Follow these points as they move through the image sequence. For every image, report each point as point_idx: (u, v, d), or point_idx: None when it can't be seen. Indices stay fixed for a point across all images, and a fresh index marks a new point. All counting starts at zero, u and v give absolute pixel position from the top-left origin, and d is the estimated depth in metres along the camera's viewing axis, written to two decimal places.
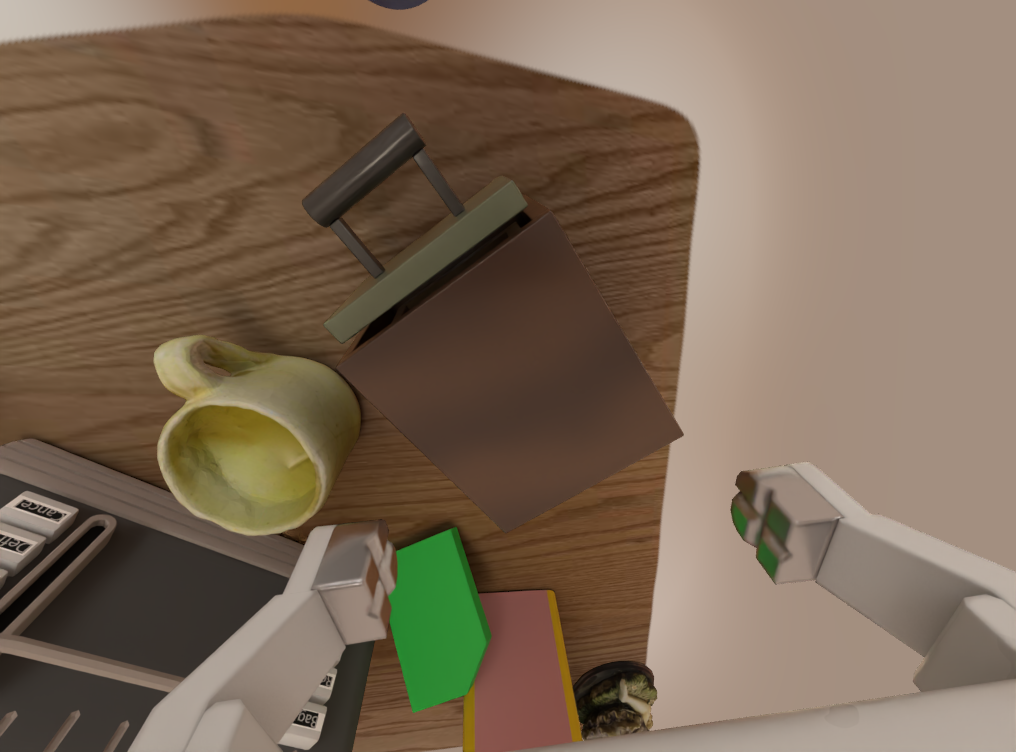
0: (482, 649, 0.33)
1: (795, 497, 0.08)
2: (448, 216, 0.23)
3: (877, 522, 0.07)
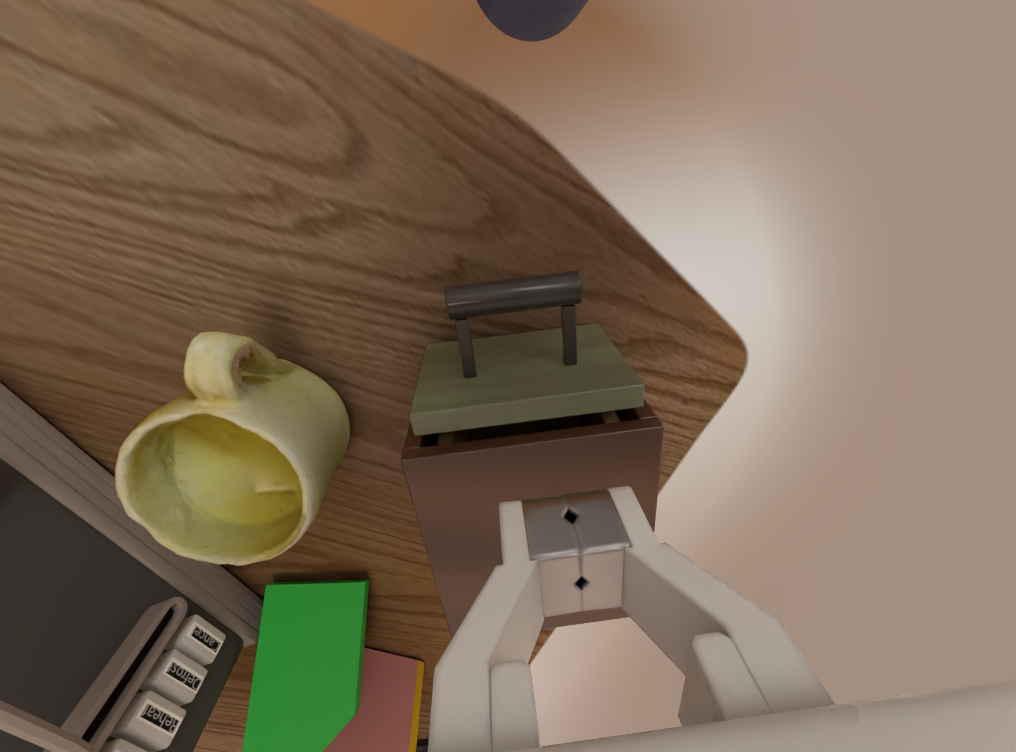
0: (347, 721, 0.31)
1: (595, 524, 0.08)
2: (540, 338, 0.24)
3: (659, 552, 0.07)
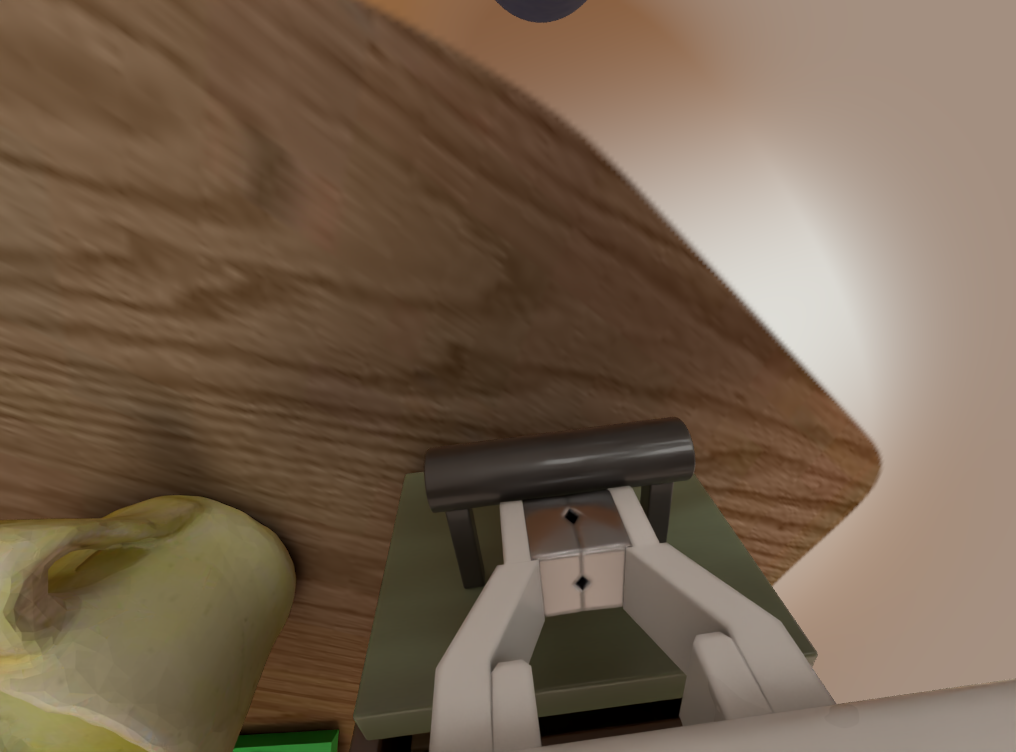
0: None
1: (596, 524, 0.08)
2: None
3: (660, 552, 0.07)
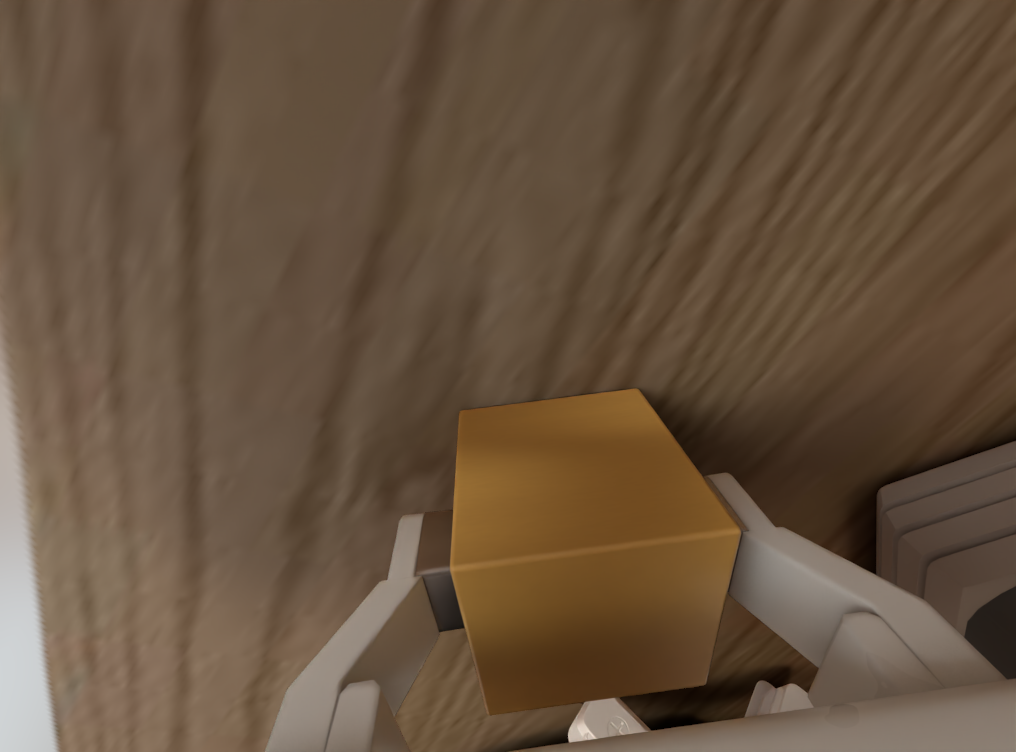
0: None
1: None
2: None
3: (779, 536, 0.07)
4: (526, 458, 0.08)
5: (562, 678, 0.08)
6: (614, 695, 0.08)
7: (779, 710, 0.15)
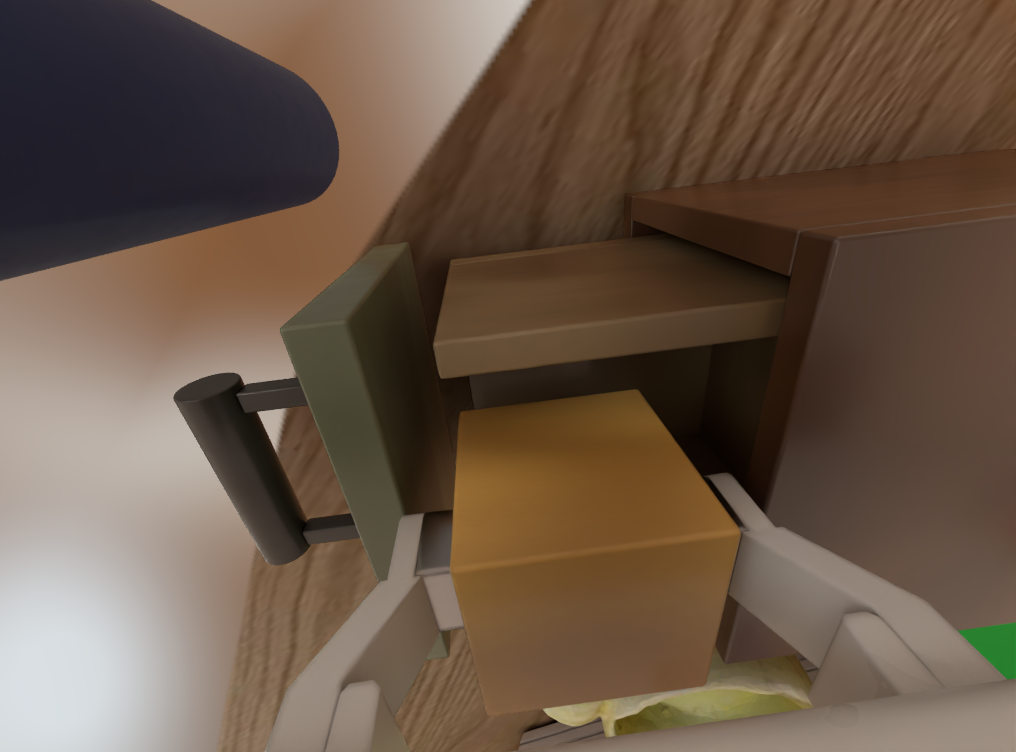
0: None
1: None
2: None
3: (779, 535, 0.07)
4: (525, 459, 0.08)
5: (562, 680, 0.08)
6: (614, 696, 0.08)
7: None
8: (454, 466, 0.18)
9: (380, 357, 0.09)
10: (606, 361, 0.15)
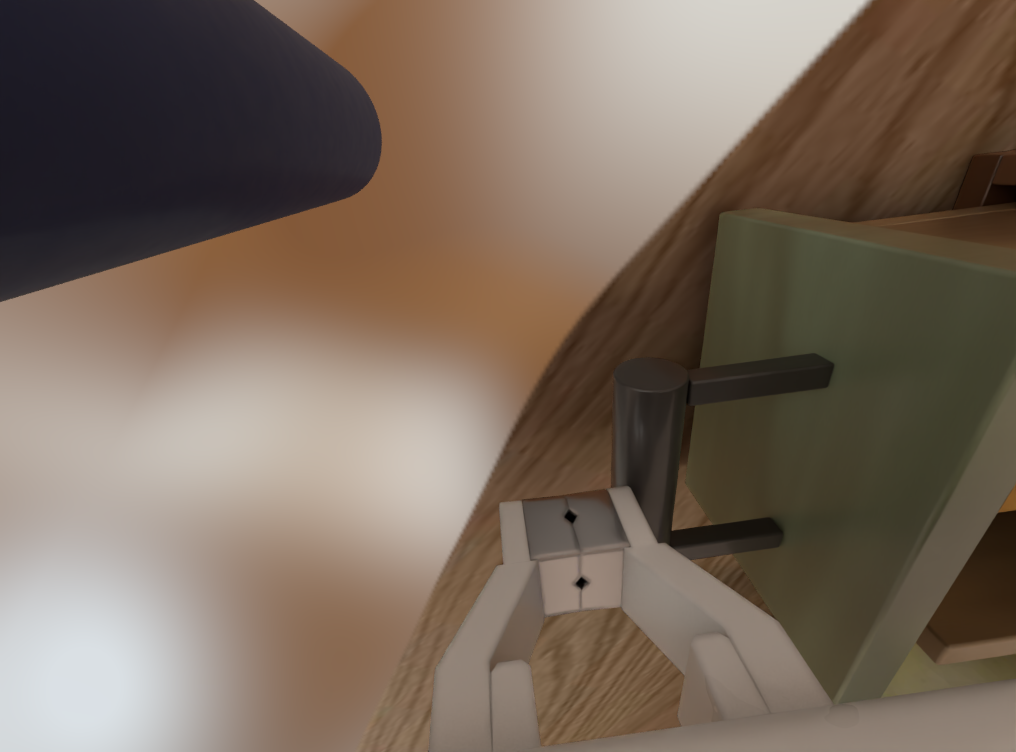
0: None
1: (595, 524, 0.08)
2: (724, 344, 0.12)
3: (658, 552, 0.07)
4: None
5: None
6: None
7: None
8: None
9: None
10: None
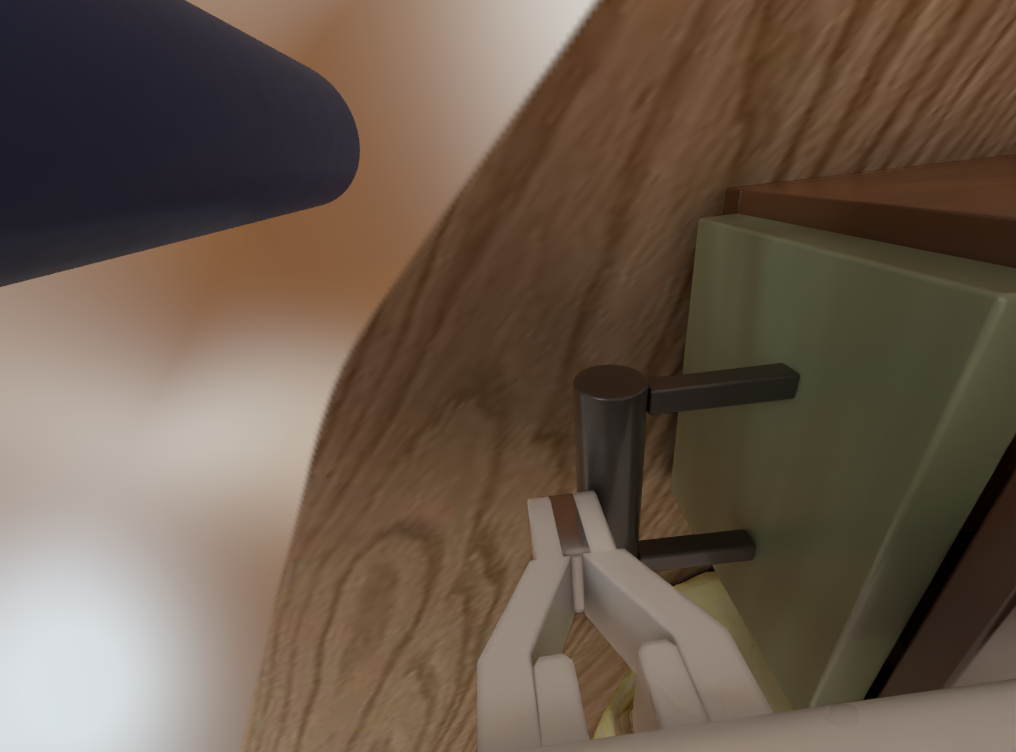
0: None
1: (556, 529, 0.08)
2: (703, 351, 0.12)
3: (616, 558, 0.07)
4: None
5: None
6: None
7: None
8: None
9: None
10: None
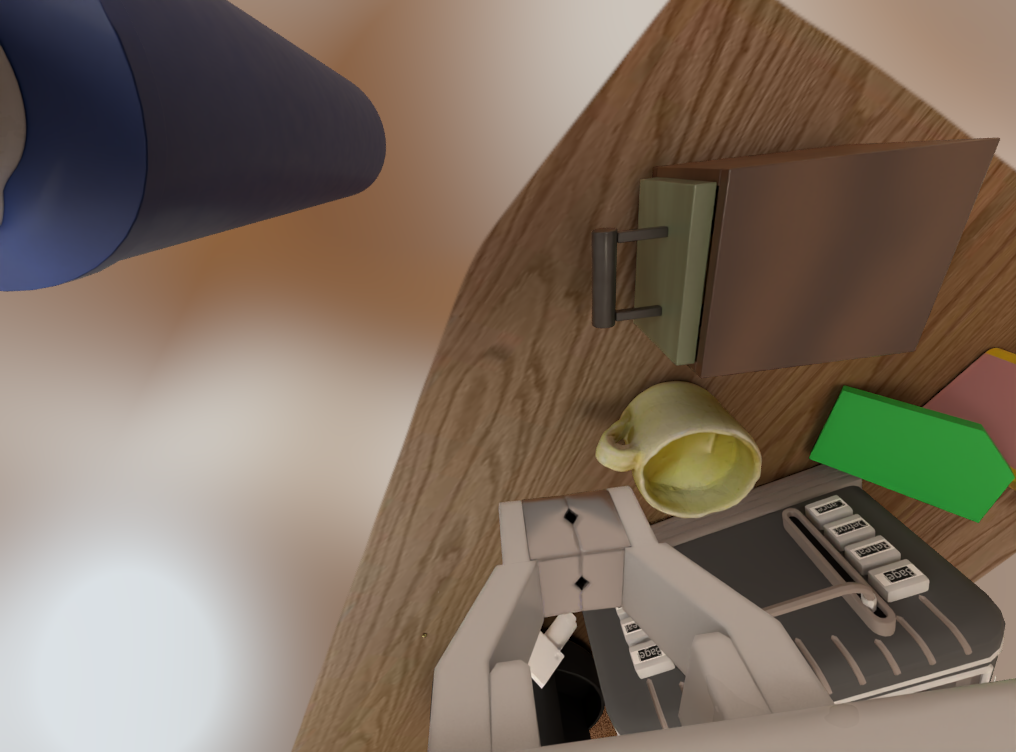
0: (986, 438, 0.32)
1: (595, 524, 0.08)
2: None
3: (659, 552, 0.07)
4: None
5: None
6: None
7: (561, 618, 0.49)
8: None
9: None
10: None
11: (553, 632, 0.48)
